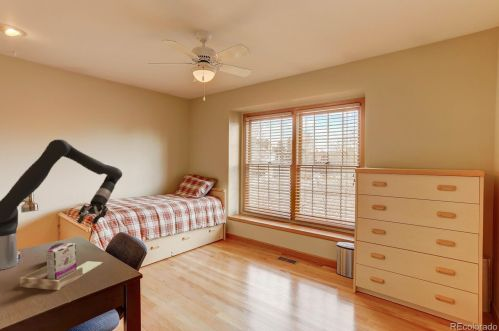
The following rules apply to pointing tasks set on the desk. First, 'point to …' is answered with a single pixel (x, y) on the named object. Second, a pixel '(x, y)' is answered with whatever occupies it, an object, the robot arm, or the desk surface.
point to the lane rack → (43, 283)
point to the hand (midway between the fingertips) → (86, 223)
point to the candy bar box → (61, 261)
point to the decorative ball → (56, 245)
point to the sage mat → (89, 266)
